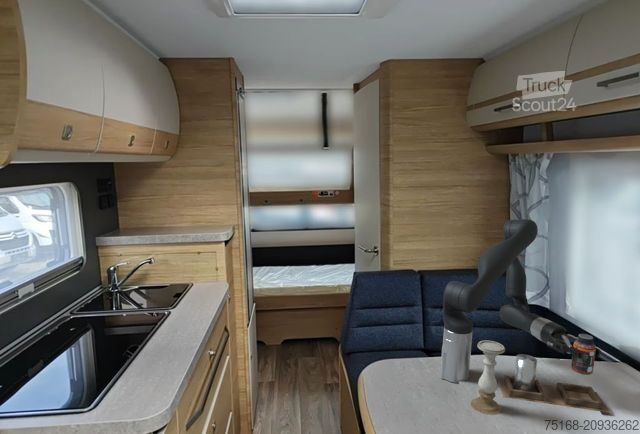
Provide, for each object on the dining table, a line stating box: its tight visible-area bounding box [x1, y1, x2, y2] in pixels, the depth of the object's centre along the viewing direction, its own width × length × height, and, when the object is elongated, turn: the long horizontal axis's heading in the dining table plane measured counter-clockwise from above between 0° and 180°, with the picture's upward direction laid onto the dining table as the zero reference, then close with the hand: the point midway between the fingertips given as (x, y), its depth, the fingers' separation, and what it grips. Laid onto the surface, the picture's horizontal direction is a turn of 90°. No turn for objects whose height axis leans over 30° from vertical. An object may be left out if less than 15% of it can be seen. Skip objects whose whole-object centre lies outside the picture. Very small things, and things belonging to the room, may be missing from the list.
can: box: [513, 353, 538, 392], centre depth 141 cm, size 6×6×11 cm
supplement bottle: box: [570, 333, 597, 375], centre depth 136 cm, size 6×6×11 cm
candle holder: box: [470, 340, 506, 416], centre depth 131 cm, size 9×9×20 cm
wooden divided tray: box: [497, 374, 612, 416], centre depth 140 cm, size 30×12×3 cm, turn 76°
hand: (590, 354), depth 134 cm, fingers closed on supplement bottle, 6 cm apart
